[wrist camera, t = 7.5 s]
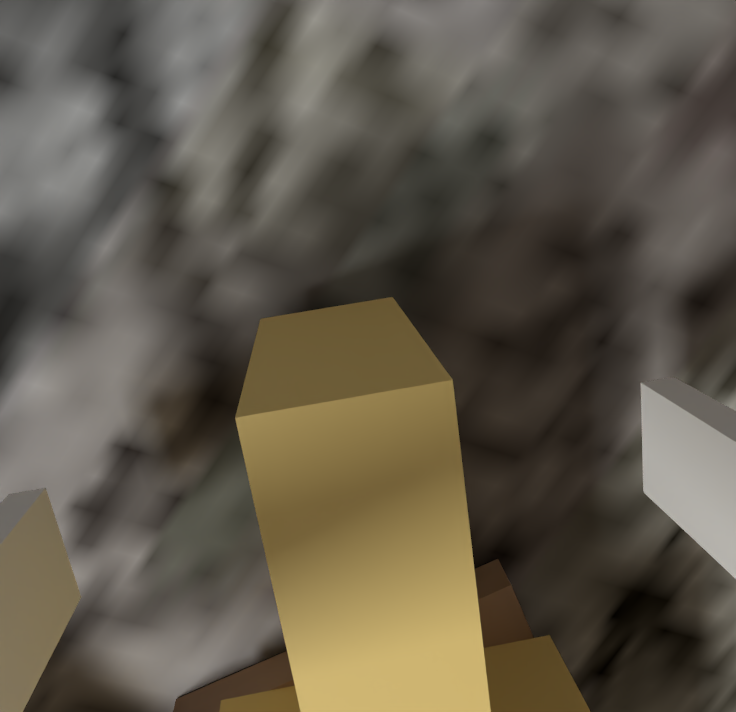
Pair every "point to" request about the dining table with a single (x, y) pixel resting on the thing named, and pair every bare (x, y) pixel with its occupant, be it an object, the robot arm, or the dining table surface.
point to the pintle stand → (203, 705)
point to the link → (373, 526)
